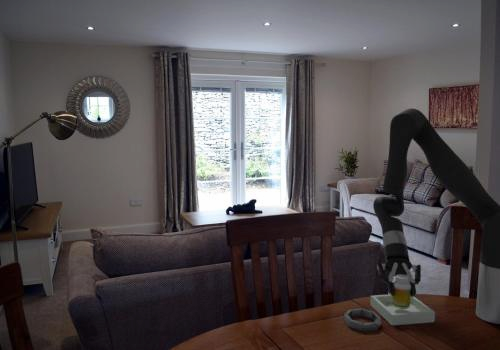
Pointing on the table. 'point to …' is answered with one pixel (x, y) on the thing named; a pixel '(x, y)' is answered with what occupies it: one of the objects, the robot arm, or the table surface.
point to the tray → (402, 311)
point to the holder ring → (359, 325)
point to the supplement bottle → (401, 292)
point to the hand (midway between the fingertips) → (403, 295)
